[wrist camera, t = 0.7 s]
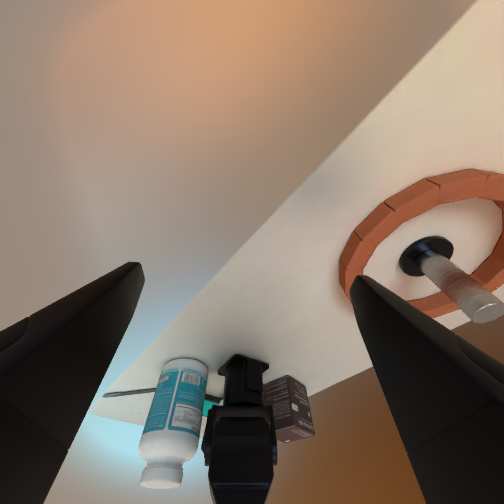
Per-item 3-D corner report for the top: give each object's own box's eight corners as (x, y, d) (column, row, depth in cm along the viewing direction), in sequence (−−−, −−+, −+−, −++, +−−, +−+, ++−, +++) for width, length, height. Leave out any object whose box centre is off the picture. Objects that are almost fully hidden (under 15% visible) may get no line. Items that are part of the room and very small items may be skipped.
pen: (170, 391, 40) (102, 398, 41) (172, 387, 40) (104, 395, 42) (169, 387, 39) (100, 395, 41) (170, 384, 40) (102, 392, 41)
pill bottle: (168, 378, 38) (136, 492, 27) (159, 356, 34) (115, 479, 23) (211, 378, 38) (196, 491, 27) (206, 355, 34) (186, 478, 23)
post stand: (417, 279, 25) (473, 339, 19) (389, 262, 24) (440, 320, 17) (459, 249, 23) (540, 306, 16) (431, 227, 21) (509, 281, 15)
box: (306, 386, 40) (316, 436, 34) (280, 395, 43) (285, 443, 37) (288, 374, 38) (295, 426, 32) (261, 384, 40) (263, 435, 34)
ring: (404, 326, 30) (412, 337, 29) (306, 277, 25) (310, 288, 23) (558, 231, 22) (580, 241, 20) (460, 123, 16) (482, 126, 15)
